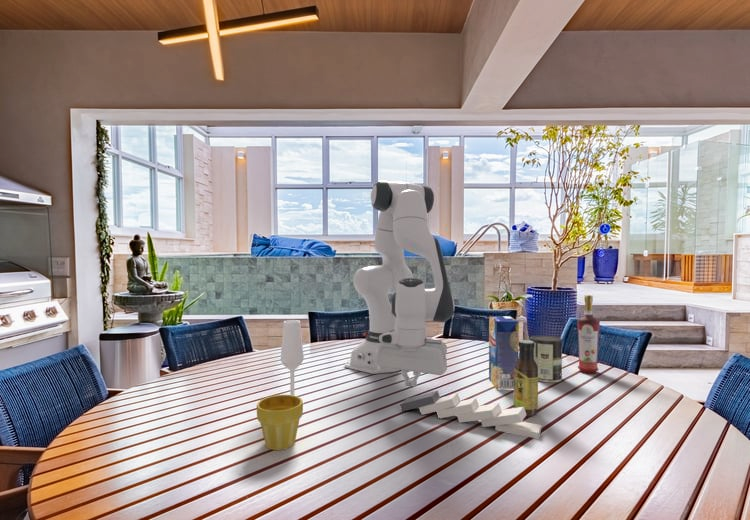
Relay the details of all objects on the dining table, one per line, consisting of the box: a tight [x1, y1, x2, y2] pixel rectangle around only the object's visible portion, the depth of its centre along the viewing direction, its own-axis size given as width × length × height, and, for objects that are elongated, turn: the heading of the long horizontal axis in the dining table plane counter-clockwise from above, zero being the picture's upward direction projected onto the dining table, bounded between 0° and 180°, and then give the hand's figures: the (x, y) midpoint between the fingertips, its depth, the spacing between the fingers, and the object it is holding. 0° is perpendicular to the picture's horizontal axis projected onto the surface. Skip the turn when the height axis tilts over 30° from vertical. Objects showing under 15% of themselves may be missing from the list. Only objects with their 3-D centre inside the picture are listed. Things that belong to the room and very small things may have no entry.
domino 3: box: [435, 397, 480, 419], centre depth 111 cm, size 2×5×10 cm
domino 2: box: [418, 393, 461, 416], centre depth 113 cm, size 2×5×10 cm
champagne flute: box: [280, 319, 305, 404], centre depth 122 cm, size 7×7×24 cm
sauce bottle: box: [513, 339, 539, 417], centre depth 114 cm, size 6×6×20 cm
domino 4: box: [456, 402, 502, 423], centre depth 107 cm, size 2×5×10 cm
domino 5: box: [480, 407, 527, 428], centre depth 104 cm, size 2×5×10 cm
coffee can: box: [530, 334, 563, 384], centre depth 145 cm, size 10×10×14 cm
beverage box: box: [488, 315, 520, 390], centre depth 138 cm, size 7×11×22 cm, turn 177°
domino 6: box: [495, 421, 542, 439], centre depth 103 cm, size 2×5×10 cm
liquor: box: [577, 294, 601, 375], centre depth 152 cm, size 7×7×28 cm
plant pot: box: [256, 394, 304, 451], centre depth 96 cm, size 10×10×10 cm
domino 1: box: [399, 390, 441, 412], centre depth 116 cm, size 2×5×10 cm
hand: (410, 386), depth 117 cm, fingers closed
